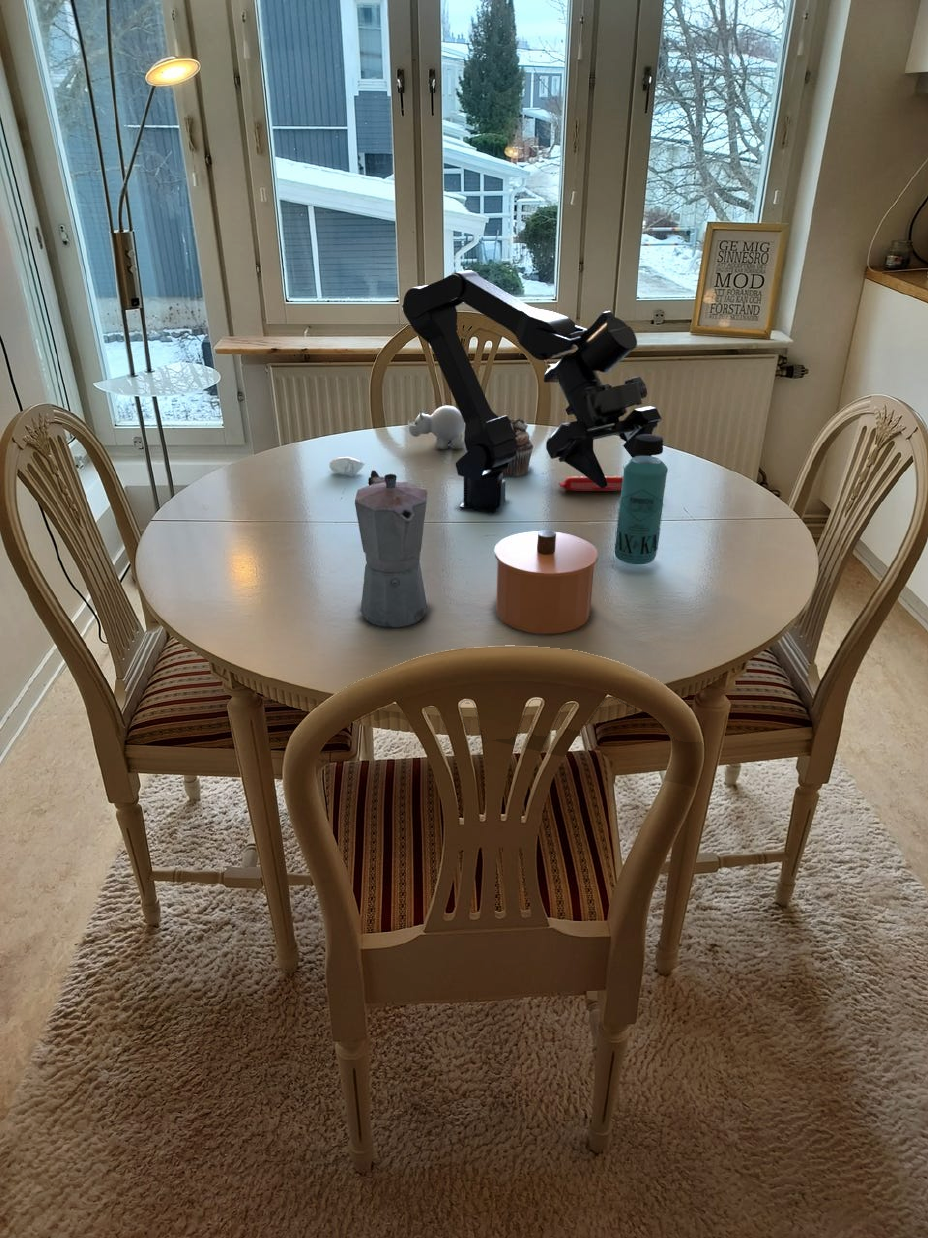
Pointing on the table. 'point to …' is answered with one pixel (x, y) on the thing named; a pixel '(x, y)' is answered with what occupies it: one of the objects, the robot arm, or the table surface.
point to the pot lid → (546, 553)
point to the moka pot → (392, 550)
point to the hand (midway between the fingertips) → (628, 481)
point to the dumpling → (346, 465)
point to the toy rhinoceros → (440, 426)
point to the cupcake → (520, 450)
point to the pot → (543, 600)
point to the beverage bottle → (641, 502)
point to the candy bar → (591, 484)
